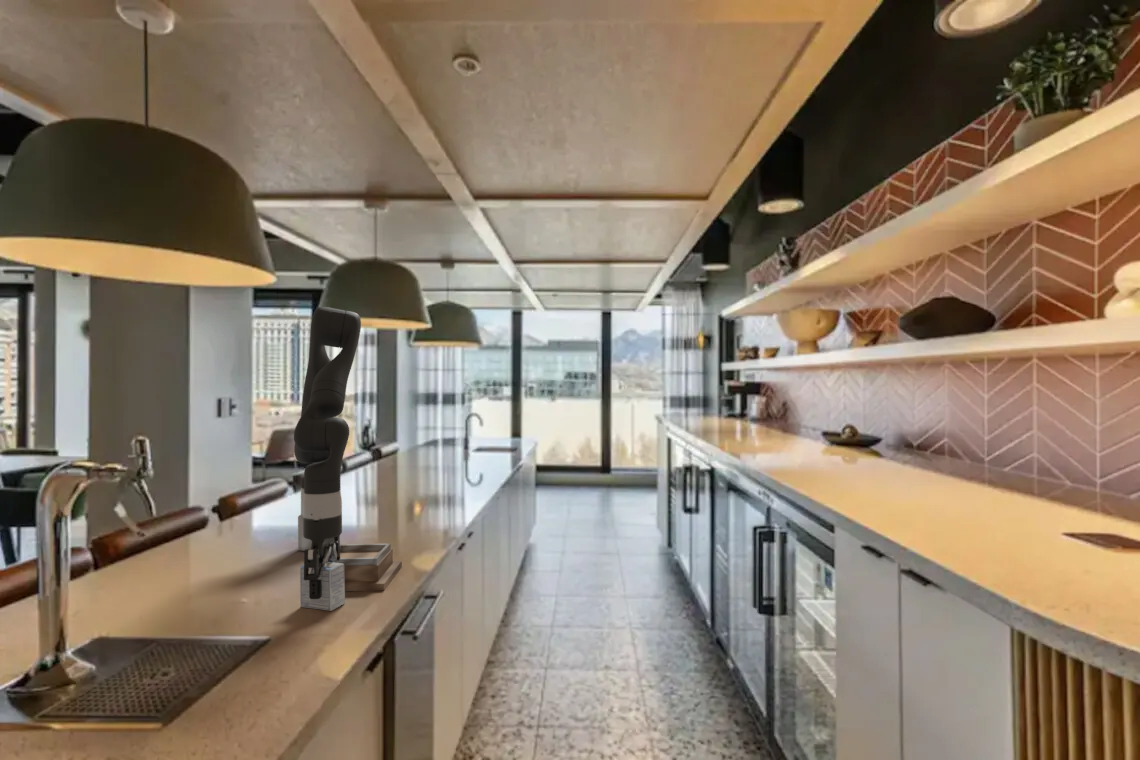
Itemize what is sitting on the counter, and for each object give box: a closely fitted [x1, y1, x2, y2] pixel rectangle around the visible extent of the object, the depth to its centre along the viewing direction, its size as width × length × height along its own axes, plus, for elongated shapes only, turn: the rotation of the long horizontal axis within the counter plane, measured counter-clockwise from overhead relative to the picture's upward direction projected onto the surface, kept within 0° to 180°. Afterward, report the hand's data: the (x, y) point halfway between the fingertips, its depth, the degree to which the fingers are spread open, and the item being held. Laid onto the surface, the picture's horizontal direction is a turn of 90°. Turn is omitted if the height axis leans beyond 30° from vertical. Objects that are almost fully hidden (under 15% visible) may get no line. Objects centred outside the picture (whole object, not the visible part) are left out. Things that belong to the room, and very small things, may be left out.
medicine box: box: [299, 562, 346, 612], centre depth 124 cm, size 8×4×9 cm, turn 71°
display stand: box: [337, 543, 403, 592], centre depth 142 cm, size 17×17×6 cm
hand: (323, 591), depth 124 cm, fingers open, 8 cm apart
